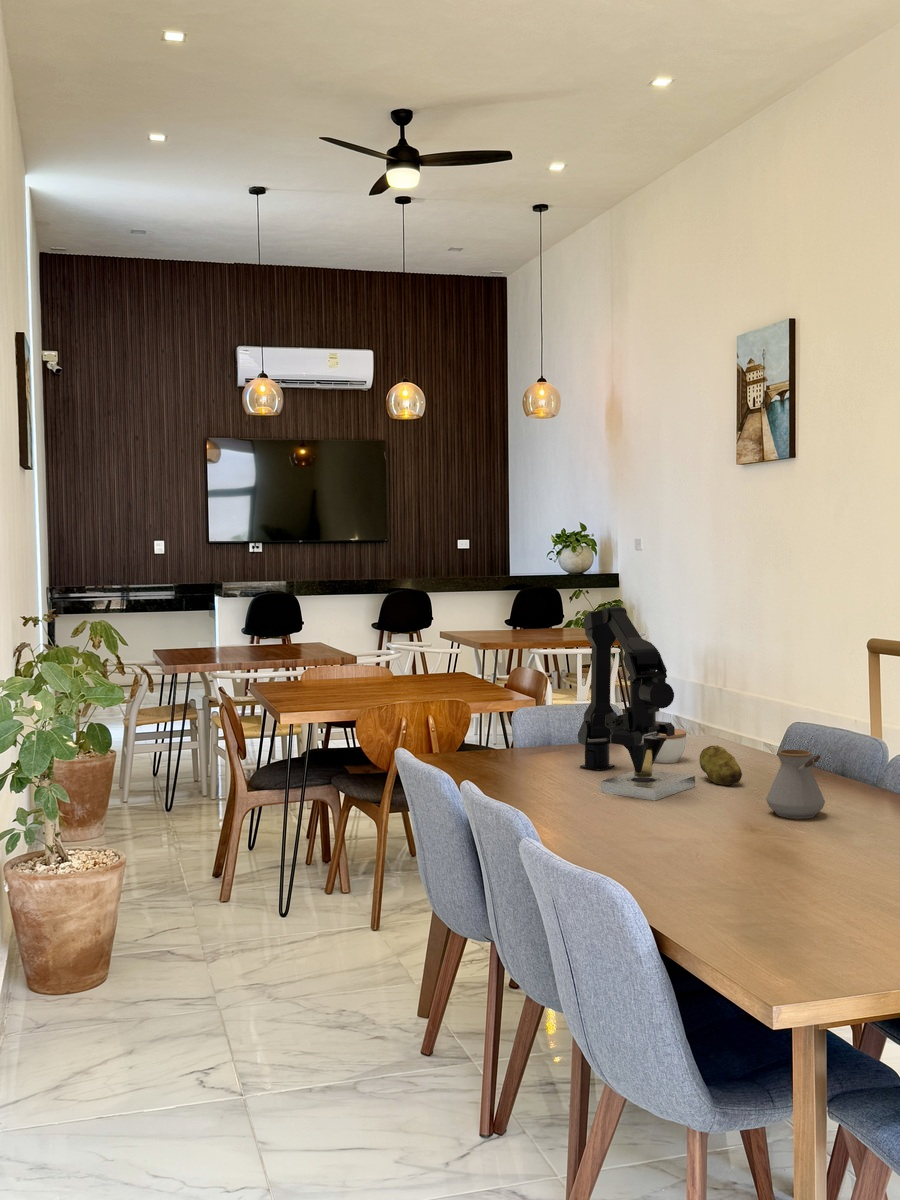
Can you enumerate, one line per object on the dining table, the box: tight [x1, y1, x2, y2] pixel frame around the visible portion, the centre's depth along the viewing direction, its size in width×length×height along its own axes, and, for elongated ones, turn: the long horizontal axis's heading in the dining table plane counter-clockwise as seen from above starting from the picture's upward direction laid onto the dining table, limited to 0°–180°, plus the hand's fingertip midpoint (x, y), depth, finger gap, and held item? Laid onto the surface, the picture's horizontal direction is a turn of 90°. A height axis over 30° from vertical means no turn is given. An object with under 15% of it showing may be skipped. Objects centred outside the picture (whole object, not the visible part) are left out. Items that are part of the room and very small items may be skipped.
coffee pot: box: [765, 749, 826, 820], centre depth 217 cm, size 21×12×15 cm, turn 179°
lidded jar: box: [654, 728, 687, 764], centre depth 281 cm, size 11×11×9 cm
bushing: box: [633, 748, 653, 777], centre depth 246 cm, size 4×4×6 cm
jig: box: [599, 769, 696, 801], centre depth 247 cm, size 18×14×2 cm
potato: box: [699, 745, 743, 786], centre depth 254 cm, size 8×13×8 cm, turn 178°
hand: (643, 770), depth 246 cm, fingers closed on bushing, 4 cm apart
